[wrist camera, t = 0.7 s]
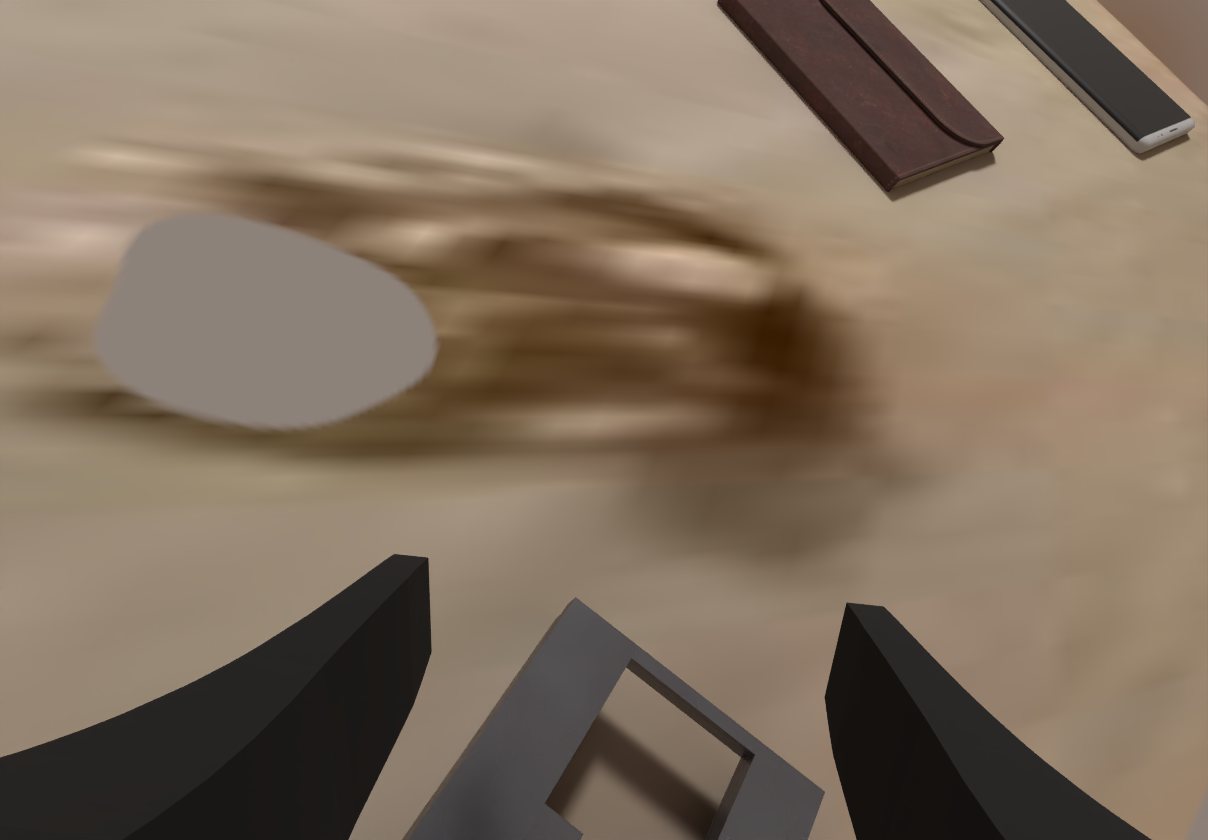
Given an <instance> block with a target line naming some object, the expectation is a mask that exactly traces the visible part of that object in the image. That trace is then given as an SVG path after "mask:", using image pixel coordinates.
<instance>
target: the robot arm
mask: <svg viewBox="0 0 1208 840" xmlns="http://www.w3.org/2000/svg"><path fill="white" fill-rule="evenodd" d="M431 652H432V651H431V622H430V593H429V564H428V558H426V557H417V556H407V555H398V554H394V555H392V556H391V557H389V558H388V559H386V560H385V561H383V562H382V563H381V564H379V565H378V566H376V567H375V568H374V569H372V570H371V571H369V572H368V573H367V574H365V575H364V576H363V577H361V578H360V579H358V580H357V581H356V582H354V583H353V584H352V585H350V586H349V587H347V588H346V589H345V590H343V591H342V592H340V593H339V594H337V595H336V596H335V597H333V598H332V599H330V600H329V601H327V602H326V603H325V604H323V605H322V606H320V607H319V608H317V609H316V610H315V611H313V612H312V613H310V614H309V615H307V616H306V617H304V618H303V619H301V620H300V621H298V622H296V623H295V624H293V625H292V626H290V627H288V628H287V629H285V630H284V631H282V632H281V633H279V634H277V635H276V636H274V637H273V638H271V639H270V640H268V641H266V642H265V643H263V644H262V645H260V646H258V647H257V648H255V649H253V650H252V651H250V652H248V653H247V654H245V655H243V656H241V657H239V658H238V659H236V660H234V661H232V662H231V663H229V664H227V665H225V666H223V667H221V668H219V669H217V670H215V671H213V672H212V673H210V674H208V675H206V676H204V677H202V678H200V679H198V680H196V681H194V682H192V683H190V684H188V685H186V686H184V687H182V688H179V689H177V690H175V691H173V692H171V693H168V694H166V695H164V696H162V697H159V698H157V699H155V700H153V701H150V702H148V703H146V704H144V705H142V706H139V707H137V708H135V709H133V710H130V711H128V712H126V713H124V714H121V715H119V716H116V717H114V718H111V719H109V720H106V721H104V722H101V723H98V724H96V725H93V726H91V727H88V728H86V729H83V730H80V731H78V732H75V733H72V734H69V735H67V736H64V737H61V738H58V739H55V740H53V741H50V742H47V743H44V744H41V745H38V746H35V747H32V748H29V749H26V750H23V751H20V752H17V753H14V754H11V755H7V756H4V757H1V758H0V840H348V839H349V837H350V835H351V833H352V830H353V828H354V826H355V824H356V821H357V819H358V817H359V815H360V813H361V811H362V809H363V807H364V805H365V803H366V801H367V799H368V797H369V795H370V793H371V791H372V789H373V787H374V785H375V783H376V781H377V779H378V777H379V775H380V773H381V771H382V769H383V767H384V765H385V763H386V761H387V759H388V757H389V755H390V752H391V750H392V748H393V746H394V744H395V742H396V740H397V738H398V736H399V734H400V732H401V730H402V728H403V726H404V724H405V722H406V720H407V717H408V715H409V713H410V711H411V709H412V707H413V705H414V702H415V699H416V696H417V694H418V691H419V688H420V685H421V682H422V679H423V676H424V673H425V670H426V667H427V664H428V661H429V658H430V655H431ZM825 703H826V711H827V718H828V725H829V732H830V738H831V744H832V751H833V756H834V760H835V764H836V767H837V771H838V775H839V778H840V782H841V786H842V789H843V793H844V796H845V800H846V804H847V807H848V811H849V814H850V818H851V821H852V825H853V828H854V832H855V835H856V839H857V840H1151V839H1150V838H1148V837H1147V836H1145V835H1144V834H1142V833H1141V832H1140V831H1138V830H1137V829H1135V828H1134V827H1132V826H1131V825H1129V824H1128V823H1126V822H1125V821H1124V820H1122V819H1121V818H1119V817H1118V816H1116V815H1115V814H1113V813H1112V812H1110V811H1109V810H1108V809H1106V808H1105V807H1104V806H1102V805H1101V804H1100V803H1098V802H1097V801H1095V800H1094V799H1093V798H1091V797H1090V796H1089V795H1087V794H1086V793H1085V792H1083V791H1082V790H1081V789H1079V788H1078V787H1077V786H1076V785H1074V784H1073V783H1072V782H1071V781H1069V780H1068V779H1067V778H1065V777H1064V776H1063V775H1062V774H1060V773H1059V772H1058V771H1057V770H1055V769H1054V768H1053V767H1051V766H1050V765H1049V764H1048V763H1046V762H1045V761H1044V760H1043V759H1041V758H1040V757H1039V756H1038V755H1037V754H1035V753H1034V752H1033V751H1032V750H1031V749H1029V748H1028V747H1027V746H1026V745H1025V744H1024V743H1022V742H1021V741H1020V740H1019V739H1018V738H1017V737H1016V736H1015V735H1013V734H1012V733H1011V732H1010V731H1009V730H1008V729H1007V728H1006V727H1005V726H1003V725H1002V724H1001V723H1000V722H999V721H998V720H997V719H996V718H994V717H993V716H992V715H991V714H990V713H989V712H988V711H987V710H986V709H985V708H984V707H983V706H982V705H980V704H979V703H978V702H977V701H976V700H975V699H974V698H973V697H972V696H971V695H970V694H969V693H968V692H967V691H966V690H965V689H964V688H963V687H962V686H961V685H960V684H959V683H958V682H957V681H956V680H955V679H954V678H953V677H952V676H951V675H950V674H949V673H948V672H947V671H946V670H945V669H944V668H943V667H942V666H941V665H940V664H939V663H938V662H937V661H936V660H935V659H934V658H933V657H932V656H931V655H930V654H929V653H928V652H927V651H926V650H925V649H924V648H923V646H922V645H921V644H920V643H919V642H918V641H917V640H916V639H915V638H914V637H913V636H912V635H911V634H910V633H909V632H908V631H907V630H906V629H905V628H904V627H903V626H902V625H901V624H900V622H899V621H898V620H897V619H896V618H895V617H894V616H893V615H892V614H891V613H890V612H889V611H888V610H887V609H886V608H884V607H883V606H874V605H864V604H855V603H846V607H845V612H844V616H843V620H842V625H841V629H840V633H839V638H838V642H837V646H836V650H835V655H834V659H833V663H832V668H831V672H830V676H829V681H828V685H827V689H826V694H825Z"/></svg>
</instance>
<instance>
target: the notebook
mask: <svg viewBox="0 0 1208 840" xmlns="http://www.w3.org/2000/svg"><path fill="white" fill-rule="evenodd" d="M718 3H719V4H720V6H721V7H722V8H723V9H724V10H725V11H726V12H727V13H728V14H729V16H730V17H731V18H732V19H733V20H734V21H735V22H736V23H737V24H738V26H739V27H740V28H741V29H742V30H743V31H744V32H745V33H746V35H747V36H748V37H749V38H750V39H751V40H752V41H753V42H754V43H755V45H756V46H757V47H758V48H759V49H760V50H761V51H762V52H763V53H764V55H765V56H766V57H767V58H768V59H769V60H770V61H771V62H772V63H773V65H774V66H775V67H776V68H777V69H778V70H779V71H780V72H781V73H782V75H783V76H784V77H785V78H786V79H787V80H788V81H789V82H790V83H791V85H792V86H793V87H794V88H795V89H796V90H797V91H798V92H799V94H800V95H801V96H802V97H803V98H804V99H805V100H806V101H807V102H808V104H809V105H810V106H811V107H812V108H813V109H814V110H815V111H816V112H817V114H818V115H819V116H820V117H821V118H822V119H823V120H824V121H825V122H826V124H827V125H828V126H829V127H830V128H831V129H832V130H833V131H834V132H835V134H836V135H837V136H838V137H839V138H840V139H841V140H842V141H843V143H844V144H845V145H846V146H847V147H848V148H849V149H850V150H851V151H852V153H853V154H854V155H855V156H856V157H857V158H858V159H859V160H860V161H861V163H862V164H863V165H864V166H865V167H866V168H867V169H868V170H869V171H870V173H871V174H872V175H873V176H874V177H875V178H876V179H877V180H878V181H879V183H880V184H881V185H882V186H883V187H884V188H885V189H886V190H887V191H888V192H889V191H890V190H891V189H893V188H896V187H898V186H901V185H903V184H906V183H909V182H911V181H914V180H916V179H919V178H922V177H924V176H927V175H929V174H932V173H935V172H937V171H940V170H943V169H945V168H948V167H950V166H953V165H956V164H958V163H961V162H963V161H966V160H969V159H971V158H974V157H976V156H979V155H982V154H984V153H987V152H989V151H990V152H992V151H993V150H994V149H995V148H996V147H997V146H998V145H999V144H1000V143H1001V142H1002V141H1003V139H1004V137H1003V136H1002V135H1001V134H1000V133H999V132H998V131H997V130H996V129H995V128H994V127H993V126H992V125H991V124H990V123H989V122H988V121H987V120H986V119H985V118H984V117H983V116H982V115H981V114H980V113H979V112H978V111H977V110H976V109H975V108H974V107H973V106H972V105H971V104H970V102H969V101H968V100H967V99H966V98H965V97H964V96H963V95H962V94H961V93H960V92H959V91H958V90H957V89H956V88H955V87H954V86H953V85H952V84H951V83H950V82H949V81H948V80H947V79H946V78H945V77H944V76H943V75H942V74H941V73H940V72H939V71H938V70H937V69H936V68H935V67H934V66H933V65H932V64H931V63H930V62H929V60H928V59H927V58H926V57H925V56H924V55H923V54H922V53H921V52H920V51H919V50H918V49H917V48H916V47H915V46H914V45H913V44H912V43H911V42H910V41H909V40H908V39H907V38H906V37H905V36H904V35H903V34H902V33H901V32H900V31H899V30H898V29H897V28H896V27H895V26H894V25H893V24H892V23H891V22H890V21H889V20H888V18H887V17H886V16H885V15H884V14H883V13H882V12H881V11H880V10H879V9H878V8H877V7H876V6H875V5H874V4H873V3H872V2H871V1H870V0H718Z"/></svg>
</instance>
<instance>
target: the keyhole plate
mask: <svg viewBox="0 0 1208 840" xmlns="http://www.w3.org/2000/svg"><path fill="white" fill-rule="evenodd" d="M625 668H628V669H629V670H630V671H631V672H633V673H634V674H635V675H637V676H638V677H639V678H640V679H642V680H643V681H644V682H646V683H647V684H648V685H649V686H651V687H652V688H653V689H654V690H656V691H657V692H658V693H660V694H661V695H662V696H663V697H665V698H666V699H667V700H669V701H670V702H671V703H672V704H674V705H675V706H676V707H677V708H679V709H680V710H681V711H683V712H684V713H685V714H686V715H688V716H689V717H690V718H692V719H693V720H694V721H695V722H697V723H698V724H699V725H700V726H702V727H703V728H704V729H706V730H707V731H708V732H709V733H711V734H712V735H713V736H715V737H716V738H717V739H718V740H720V741H721V742H722V743H723V744H725V745H726V746H727V747H729V748H730V749H731V750H732V751H734V752H735V753H736V754H738V755H739V756H740V757H741V759H740V761H739V763H738V766H737V768H736V770H735V772H734V775H733V777H732V779H731V781H730V783H729V786H728V788H727V790H726V792H725V795H724V797H723V799H722V801H721V804H720V806H719V808H718V810H717V812H716V815H715V817H714V819H713V821H712V824H711V826H710V828H709V830H708V832H707V835H706V837H705V839H704V840H808V837H809V834H810V831H811V829H812V826H813V823H814V821H815V818H816V815H817V812H818V810H819V807H820V804H821V801H822V799H823V796H824V793H825V792H824V791H823V790H822V789H821V788H819V787H818V786H817V785H815V784H814V783H813V782H812V781H810V780H809V779H808V778H807V777H805V776H804V775H803V774H801V773H800V772H799V771H798V770H796V769H795V768H794V767H792V766H791V765H790V764H789V763H787V762H786V761H785V760H783V759H782V758H781V757H780V756H778V755H777V754H776V753H774V752H773V751H772V750H771V749H769V748H768V747H767V746H766V745H764V744H763V743H762V742H760V741H759V740H758V739H757V738H755V737H754V736H753V735H751V734H750V733H749V732H748V731H746V730H745V729H744V728H742V727H741V726H740V725H739V724H737V723H736V722H735V721H734V720H732V719H731V718H730V717H728V716H727V715H726V714H725V713H723V712H722V711H721V710H719V709H718V708H717V707H716V706H714V705H713V704H712V703H710V702H709V701H708V700H707V699H705V698H704V697H703V696H702V695H700V694H699V693H698V692H696V691H695V690H694V689H693V688H691V687H690V686H689V685H687V684H686V683H685V682H684V681H682V680H681V679H680V678H678V677H677V676H676V675H675V674H673V673H672V672H671V671H669V670H668V669H667V668H666V667H664V666H663V665H662V664H661V663H659V662H658V661H657V660H655V659H654V658H653V657H652V656H650V655H649V654H648V653H646V652H645V651H644V650H643V649H641V648H640V647H639V646H637V645H636V644H635V643H634V642H632V641H631V640H630V639H629V638H627V637H626V636H625V635H623V634H622V633H621V632H620V631H618V630H617V629H616V628H614V627H613V626H612V625H611V624H609V623H608V622H607V621H605V620H604V619H603V618H602V617H600V616H599V615H598V614H597V613H595V612H594V611H593V610H591V609H590V608H589V607H588V606H586V605H585V604H584V603H582V602H581V601H580V600H579V599H577V598H576V597H575V598H574V599H573V600H572V601H571V602H570V603H569V604H568V605H567V606H566V608H565V609H564V610H563V612H562V613H561V615H560V616H558V617H557V618H556V619H555V621H554V622H553V624H552V625H551V627H550V628H549V629H548V631H547V632H546V634H545V635H544V637H543V638H542V640H541V641H540V642H539V644H538V645H537V647H536V648H535V650H534V651H533V653H532V654H531V655H530V657H529V658H528V660H527V661H526V663H525V664H524V665H523V667H522V668H521V670H520V671H519V673H518V674H517V676H516V677H515V678H514V680H513V681H512V683H511V684H510V686H509V687H508V688H507V690H506V691H505V693H504V694H503V696H502V697H501V699H500V700H499V701H498V703H497V704H496V706H495V707H494V709H493V710H492V711H491V713H490V714H489V716H488V717H487V719H486V720H485V722H484V723H483V724H482V726H481V727H480V729H479V730H478V732H477V733H476V734H475V736H474V737H473V739H472V740H471V742H470V743H469V745H468V746H467V747H466V749H465V750H464V752H463V753H462V755H461V756H460V757H459V759H458V760H457V762H456V763H455V765H454V766H453V768H452V769H451V770H450V772H449V773H448V775H447V776H446V778H445V779H444V780H443V782H442V783H441V785H440V786H439V788H438V789H437V791H436V792H435V793H434V795H433V796H432V798H431V799H430V801H429V802H428V804H427V805H426V806H425V808H424V809H423V811H422V812H421V814H420V815H419V816H418V818H417V819H416V821H415V822H414V824H413V825H412V827H411V828H410V829H409V831H408V832H407V834H406V835H405V837H404V838H403V839H402V840H580V839H581V838H582V836H583V833H581V832H580V831H579V830H577V829H576V828H575V827H574V826H572V825H571V824H570V823H569V822H567V821H566V820H565V819H564V818H562V817H561V816H560V815H559V814H557V813H556V812H555V811H554V810H552V809H551V808H550V807H549V806H547V805H546V804H545V802H546V800H547V799H548V797H549V795H550V793H551V792H552V790H553V788H554V787H555V785H556V783H557V782H558V780H559V778H560V777H561V775H562V773H563V772H564V770H565V768H566V767H567V765H568V763H569V762H570V760H571V758H572V757H573V755H574V753H575V752H576V750H577V748H578V747H579V745H580V743H581V742H582V740H583V738H584V737H585V735H586V733H587V732H588V730H589V728H590V727H591V725H592V723H593V722H594V720H595V718H596V716H597V715H598V713H599V711H600V710H601V708H602V706H603V705H604V703H605V701H606V700H607V698H608V696H609V695H610V693H611V691H612V690H613V688H614V686H615V685H616V683H617V681H618V680H619V678H620V676H621V675H622V673H623V671H624V670H625Z"/></svg>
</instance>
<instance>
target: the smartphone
mask: <svg viewBox="0 0 1208 840" xmlns="http://www.w3.org/2000/svg"><path fill="white" fill-rule="evenodd" d="M980 1H981V2H982V3H983V4H984V5H985V6H986V7H987V8H988V9H989V10H990V11H991V12H992V13H993V14H994V15H995V16H996V17H997V18H998V19H999V20H1000V21H1002V22H1003V23H1004V24H1005V25H1006V26H1007V27H1008V28H1009V29H1010V30H1011V31H1012V32H1013V33H1014V34H1015V35H1016V36H1017V37H1018V38H1019V39H1020V40H1021V41H1022V42H1023V43H1024V44H1025V45H1026V46H1027V47H1028V48H1029V49H1030V50H1031V51H1032V52H1033V53H1034V54H1035V55H1036V56H1037V57H1038V58H1039V59H1040V60H1041V61H1042V62H1043V63H1044V64H1045V65H1046V66H1047V67H1048V68H1049V69H1050V70H1051V71H1052V72H1053V73H1054V74H1055V75H1056V76H1057V77H1058V78H1059V79H1060V80H1061V81H1062V82H1063V83H1064V84H1065V85H1066V86H1067V87H1068V88H1069V89H1070V90H1071V91H1072V92H1073V93H1074V94H1075V95H1076V96H1077V97H1078V98H1079V99H1080V100H1081V101H1082V102H1083V103H1084V104H1085V105H1086V106H1087V107H1088V108H1089V109H1090V110H1091V111H1092V112H1093V113H1094V114H1095V115H1096V116H1097V117H1098V118H1099V119H1100V120H1101V121H1102V122H1103V123H1104V124H1105V125H1106V126H1107V127H1108V128H1109V129H1110V130H1112V131H1113V132H1114V133H1115V134H1116V135H1117V136H1118V137H1119V138H1120V139H1121V140H1122V141H1123V142H1124V143H1125V144H1126V145H1127V146H1128V147H1129V148H1130V149H1131V150H1132V151H1133V152H1135V153H1138V154H1141V153H1143V152H1146V151H1148V150H1150V149H1152V148H1155V147H1157V146H1159V145H1162V144H1164V143H1166V142H1168V141H1171V140H1173V139H1175V138H1178V137H1180V136H1182V135H1184V134H1187V133H1188V132H1189V131H1191V130H1192V129H1193V128H1194V127H1195V122H1194V120H1193V119H1192V118H1191V117H1190V116H1189V115H1188V114H1187V113H1186V112H1185V111H1184V110H1183V109H1182V108H1181V107H1180V106H1179V105H1177V104H1176V103H1175V102H1174V101H1173V100H1172V99H1171V98H1170V97H1169V96H1168V95H1167V94H1166V93H1165V92H1163V91H1162V90H1161V89H1160V88H1159V87H1158V86H1157V85H1156V84H1155V83H1154V82H1153V81H1152V80H1151V79H1149V78H1148V77H1147V76H1146V75H1145V74H1144V73H1143V72H1142V71H1141V70H1140V69H1139V68H1138V67H1137V66H1135V65H1134V64H1133V63H1132V62H1131V61H1130V60H1129V59H1128V58H1127V57H1126V56H1125V55H1124V54H1123V53H1121V52H1120V51H1119V50H1118V49H1117V48H1116V47H1115V46H1114V45H1113V44H1112V43H1111V42H1110V41H1109V40H1108V39H1106V38H1105V37H1104V36H1103V35H1102V34H1101V33H1100V32H1099V31H1098V30H1097V29H1096V28H1095V27H1094V26H1092V25H1091V24H1090V23H1089V22H1088V21H1087V20H1086V19H1085V18H1084V17H1083V16H1082V15H1081V14H1080V13H1078V12H1077V11H1076V10H1075V9H1074V8H1073V7H1072V6H1071V5H1070V4H1069V3H1068V2H1067V1H1066V0H980Z"/></svg>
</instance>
